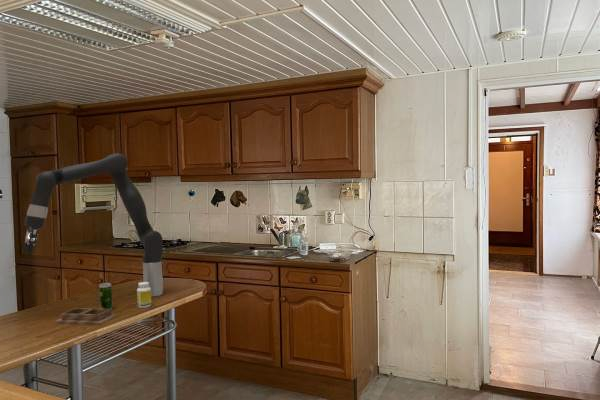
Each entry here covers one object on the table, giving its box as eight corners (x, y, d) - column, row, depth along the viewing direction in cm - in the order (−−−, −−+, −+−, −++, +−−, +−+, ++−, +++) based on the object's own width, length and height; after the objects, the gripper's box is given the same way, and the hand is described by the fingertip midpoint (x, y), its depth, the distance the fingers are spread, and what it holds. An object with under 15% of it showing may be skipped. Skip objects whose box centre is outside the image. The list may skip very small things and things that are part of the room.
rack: (55, 323, 185) (54, 315, 185) (74, 314, 197) (73, 306, 197) (100, 325, 182) (100, 316, 181) (117, 315, 193) (117, 308, 193)
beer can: (109, 307, 207) (108, 282, 206) (114, 309, 203) (113, 283, 203) (97, 310, 203) (96, 284, 202) (103, 312, 199) (102, 285, 199)
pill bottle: (154, 304, 209) (153, 281, 209) (145, 308, 204) (144, 284, 203) (143, 304, 211) (142, 281, 211) (134, 307, 206) (133, 284, 205)
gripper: (48, 218, 190) (39, 255, 188) (43, 217, 202) (34, 252, 199) (28, 214, 186) (18, 253, 183) (24, 214, 197) (15, 250, 195)
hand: (27, 252), depth 191 cm, fingers open, 8 cm apart
